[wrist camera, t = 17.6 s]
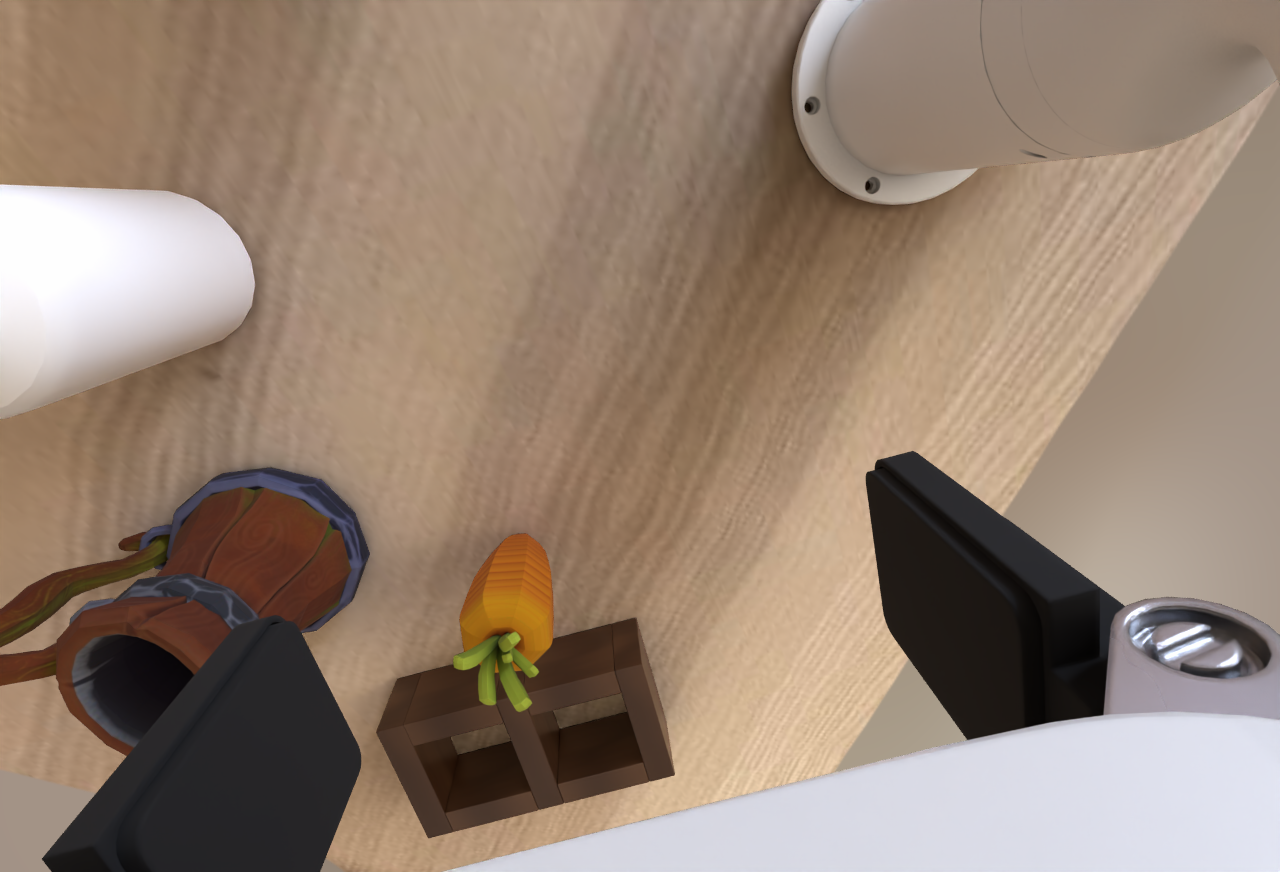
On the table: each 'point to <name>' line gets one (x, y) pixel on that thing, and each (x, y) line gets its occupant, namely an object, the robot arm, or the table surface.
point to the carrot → (508, 618)
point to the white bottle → (109, 287)
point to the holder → (528, 733)
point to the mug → (189, 596)
